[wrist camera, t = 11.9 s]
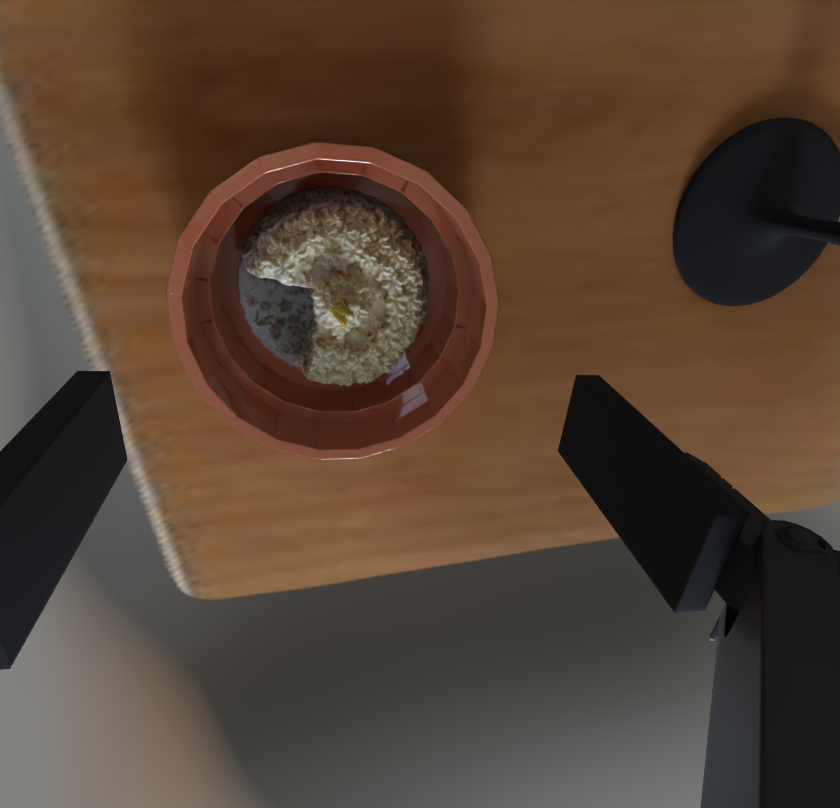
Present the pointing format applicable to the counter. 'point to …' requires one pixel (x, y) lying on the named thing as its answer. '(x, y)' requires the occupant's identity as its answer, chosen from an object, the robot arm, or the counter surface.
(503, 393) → the counter surface
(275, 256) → the cake
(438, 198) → the bowl
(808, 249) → the wine glass
